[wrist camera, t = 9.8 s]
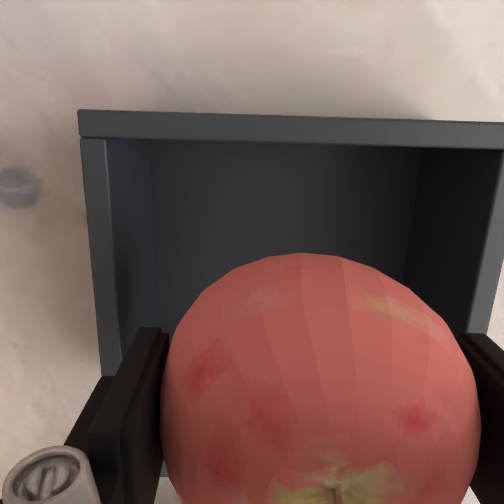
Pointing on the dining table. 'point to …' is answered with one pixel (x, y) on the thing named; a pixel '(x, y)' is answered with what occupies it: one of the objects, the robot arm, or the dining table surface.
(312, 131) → the bin
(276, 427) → the apple
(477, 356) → the robot arm
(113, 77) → the dining table surface
